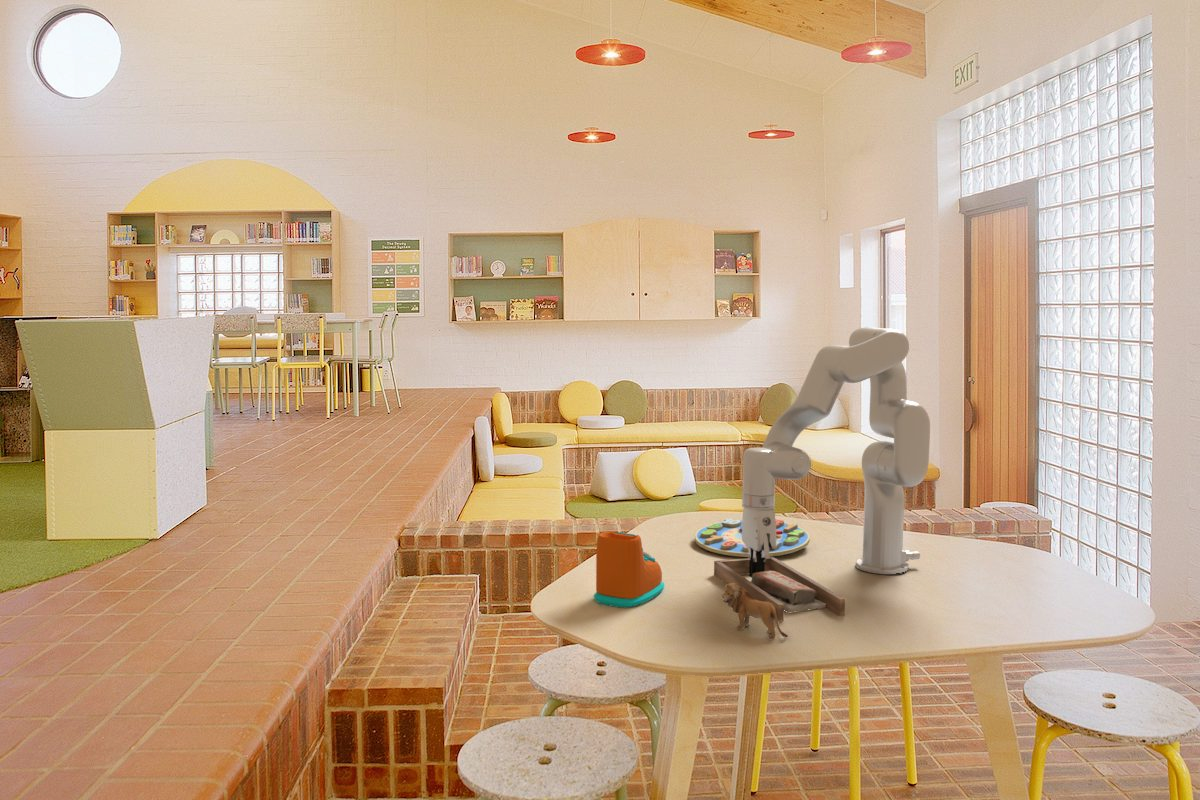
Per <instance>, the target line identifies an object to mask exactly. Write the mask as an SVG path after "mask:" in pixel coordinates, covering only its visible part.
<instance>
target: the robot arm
mask: <svg viewBox="0 0 1200 800" xmlns="http://www.w3.org/2000/svg"><path fill="white" fill-rule="evenodd" d="M848 338H849V340H848V345H841V344H840V345H839V344H830V345H826V346H823V347H822V348H821V349H819V351H818V352H817V354H816V356H815V358H814V360H813V362H812V364H811V366H810V369H809V371H808V373H807V375H806V376H805V379H804V382H803V383H802V386H801V388H800V391H799V392H798V394H797V397H796V399H795V400H794V401H793V403H792V404H791V405H789V406H788V407H787V408H786V409H785V411H783V412H782V413H781V415H780V416H778V418H777V419H776V420H775V421H774V423H773V424H772V425H771V428H770V429H769V431H768V433H767V435H766V438H765V439H764V442H763V445H762V447H759V446H758V447H750V448H747V449H744V451H743V454H742V492H741V495H742V496H741V497H742V499H741V500H742V501H741V503H742V504H741V507H742V508H743V511H742V519H741V520H742V541H743V543H744V544H746V547H747V548H748V551H749V557H748V558H749V559H750V560H749V574H748V576H749V577H750V578H751V579H752V574H753V573H756V572H763V571H765V561H766V558H767V557H769V549H770V550H772V551H774V550H775V549H776V521H775V519H776V514H775V504H776V503H775V502H776V501H775V499H776V497H775V496H776V493H775V492H776V479H780V480H791V481H792V480H794V481H795V480H800V479H803V478H804V477H806V476H807V475H808V474H809V473H810V470H811V467H812V460H811V457H810V455H808V453H807V452H806V451H805V450H803V449H800V448H798V447H794V443H795V442H796V440H797V438H798V437H799V435H800V434H801V433H802V432H803V431H804V430H806V428H808V427H809V426H811V425H813V424H815V423H817V422H820V421H821V420H824V419H825V418H827V417H828V416H829V415H830V414H831V411H832V410H833V407H834V405H835V403H836V400H837V398H838V396H839V394H840V392H841V389H842V387H843V385H844V384H845V383H847V384H856V383H860V382H864V381H865V380H867V379H869V380H870V381H869V383H870V385H869V386H870V388H869V389H870V392H869V393H870V395H869V415H868V416H869V418H868V420H869V426H870V429H871V430H872V431H873V432H874V433H875V434H877V435H880V436H883V437H885V438H886V437H887V438H890V439H893V442H891V441H885V440H879V441H874V442H872V443H870V444H869V445H868V446H866V448H865V449H864V451H863V453H862V456H861V470H862V476H863V484H864V486H863V487H864V501H863V502H864V504H863V505H864V506H863V507H864V508H863V529H862V531H863V532H862V533H863V536H862V557H861V558H858V559H857V560H856V561H855V566H856V568H857V569H859V570H861V571H863V570H864V572H866V571H867V573H872V574H877V573H878V574H879V575H897V574H896V573H900V574H903V573H902V572H904V573H906V572H908V571H909V563H908V562H909V561H910V560H912V561H913V560H914V561H915V560H919V559H920V558H921V554H920V552H919V551H909V550H904V526H905V525H904V519H905V504H906V503H905V492H904V488H903V487H905V488H912V487H915V486H917V485H920V484H921V483H922V482H923V481H924V479H925V478H926V476H927V472H928V469H929V461H930V459H929V458H930V445H931V443H930V441H931V421H930V417H929V414H928V411H927V410H926V408H924V406H923V405H921V404H920V403H918V402H915V401H912V400H908V396H907V394H908V392H907V385H908V383H907V374H906V370H905V367H904V366H905V365H904V363H903V361H904V360H905V359H906V357H907V356H908V354H909V352H910V351H909V350H910V342H909V339H908V337H907V336H906V335H905V333H903V332H902V331H901V330H898V329H894V328H886V327H885V328H883V327H868V326H867V327H866V326H865V327H860V328H857V329H855V330H853V332H851V334H850V336H849V337H848ZM907 570H908V571H907ZM905 571H906V572H905Z"/></svg>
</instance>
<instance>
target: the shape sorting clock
mask: <svg viewBox="0 0 1200 800" xmlns="http://www.w3.org/2000/svg"><path fill="white" fill-rule="evenodd" d="M775 521H776V549H775V550H774V551H772V550H770V549H769V557H773V556H774V557H778V556H784V555H788V554H793V553H795V552H798V551H800V550H803V549H804V548H806V547H807V546H808V545H809V544H810V542H811V541H810V540H811V539H810V538H811V536H810V534H809V532H808V531H807V530H805V529H804V528H802V527H800V526H798V525H799V524H797V523H787V522H785V521H784V520H782V519H778V518H775ZM694 541H695V543H696V545H697V546H699V547H700V548H702V549H704V550H706V551H709V552H711V553H715V554H719V555H724V556H730V557H742V558H749V551H748V548H747V547H746V544H744V543H743V541H742V519H736V518H727V519H724V520H723V521H719V522H715V523H710V524H708V525H705V526H703V527H701V528H698V530H697V531H695V534H694Z"/></svg>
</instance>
